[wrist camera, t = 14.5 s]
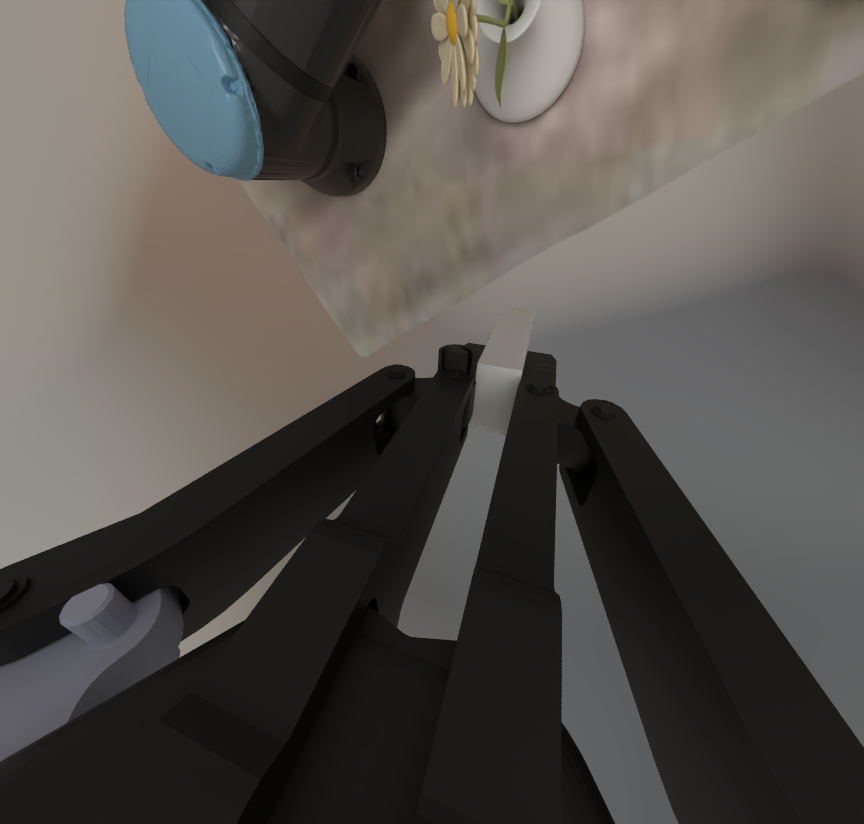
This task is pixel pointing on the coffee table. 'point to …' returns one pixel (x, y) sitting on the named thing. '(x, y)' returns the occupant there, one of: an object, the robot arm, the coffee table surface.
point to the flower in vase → (508, 52)
